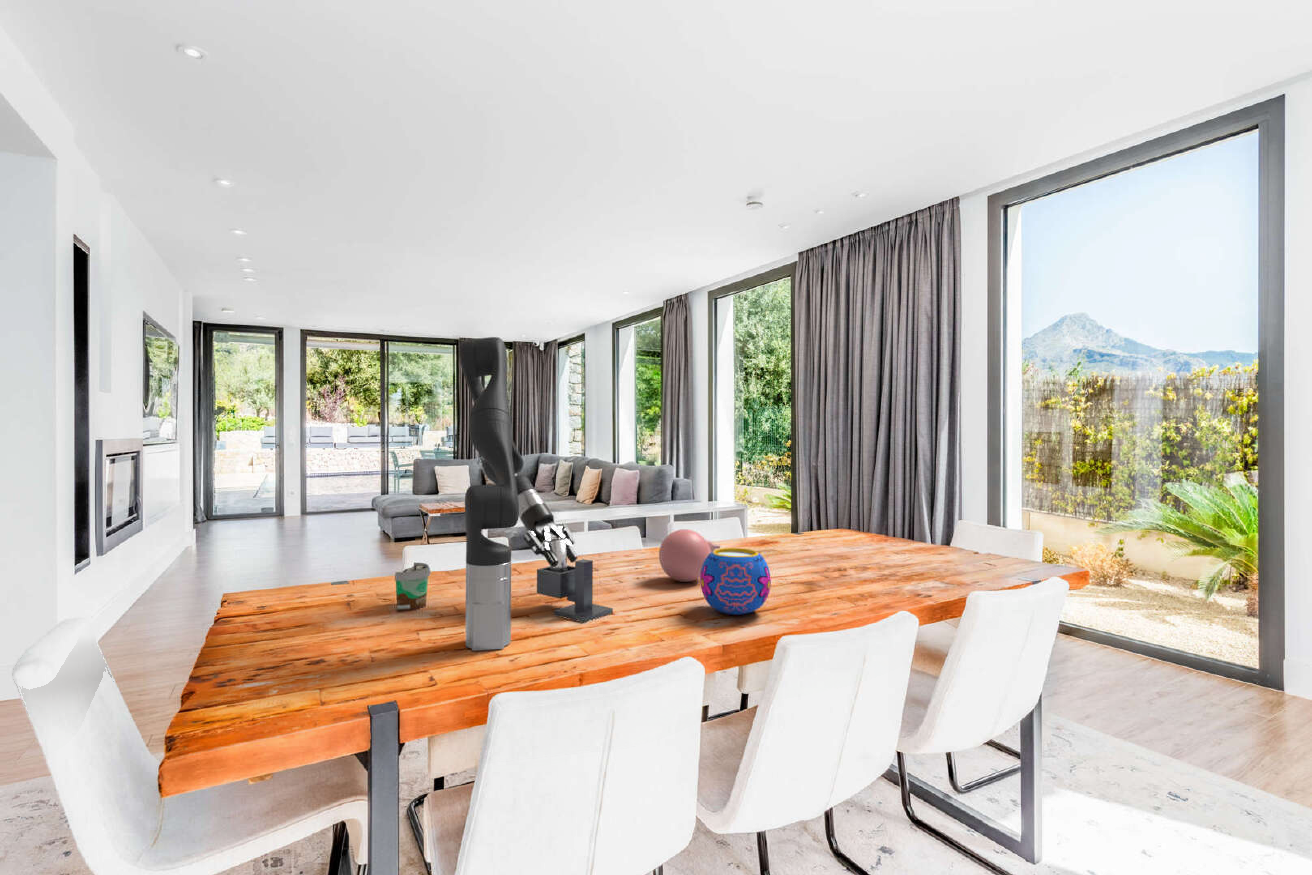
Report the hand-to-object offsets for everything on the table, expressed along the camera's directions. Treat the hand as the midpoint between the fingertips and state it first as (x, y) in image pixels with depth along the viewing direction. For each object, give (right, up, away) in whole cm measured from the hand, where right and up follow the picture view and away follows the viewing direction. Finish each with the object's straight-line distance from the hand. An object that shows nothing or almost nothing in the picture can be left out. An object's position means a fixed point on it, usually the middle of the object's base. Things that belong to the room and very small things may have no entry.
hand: (565, 562), depth 160 cm
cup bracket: (+2, -12, -1) cm, 12 cm away
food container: (-38, -12, +2) cm, 39 cm away
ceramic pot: (+42, -12, -1) cm, 44 cm away
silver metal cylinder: (-2, -7, +1) cm, 7 cm away
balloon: (+33, -12, +32) cm, 48 cm away
